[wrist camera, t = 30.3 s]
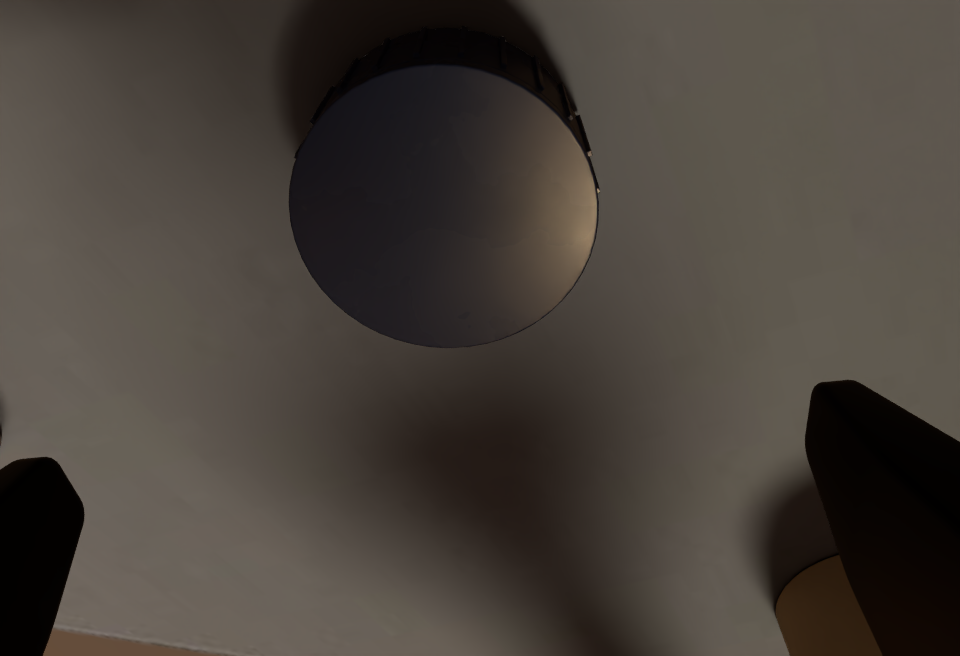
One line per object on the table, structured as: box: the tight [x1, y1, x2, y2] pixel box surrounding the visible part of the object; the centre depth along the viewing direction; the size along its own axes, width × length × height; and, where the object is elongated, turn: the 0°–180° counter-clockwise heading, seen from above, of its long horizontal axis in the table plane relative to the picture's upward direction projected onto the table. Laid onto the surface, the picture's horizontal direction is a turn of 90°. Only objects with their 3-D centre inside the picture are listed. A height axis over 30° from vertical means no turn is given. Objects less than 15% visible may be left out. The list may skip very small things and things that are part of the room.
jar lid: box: [289, 26, 600, 348], centre depth 15 cm, size 6×6×3 cm
